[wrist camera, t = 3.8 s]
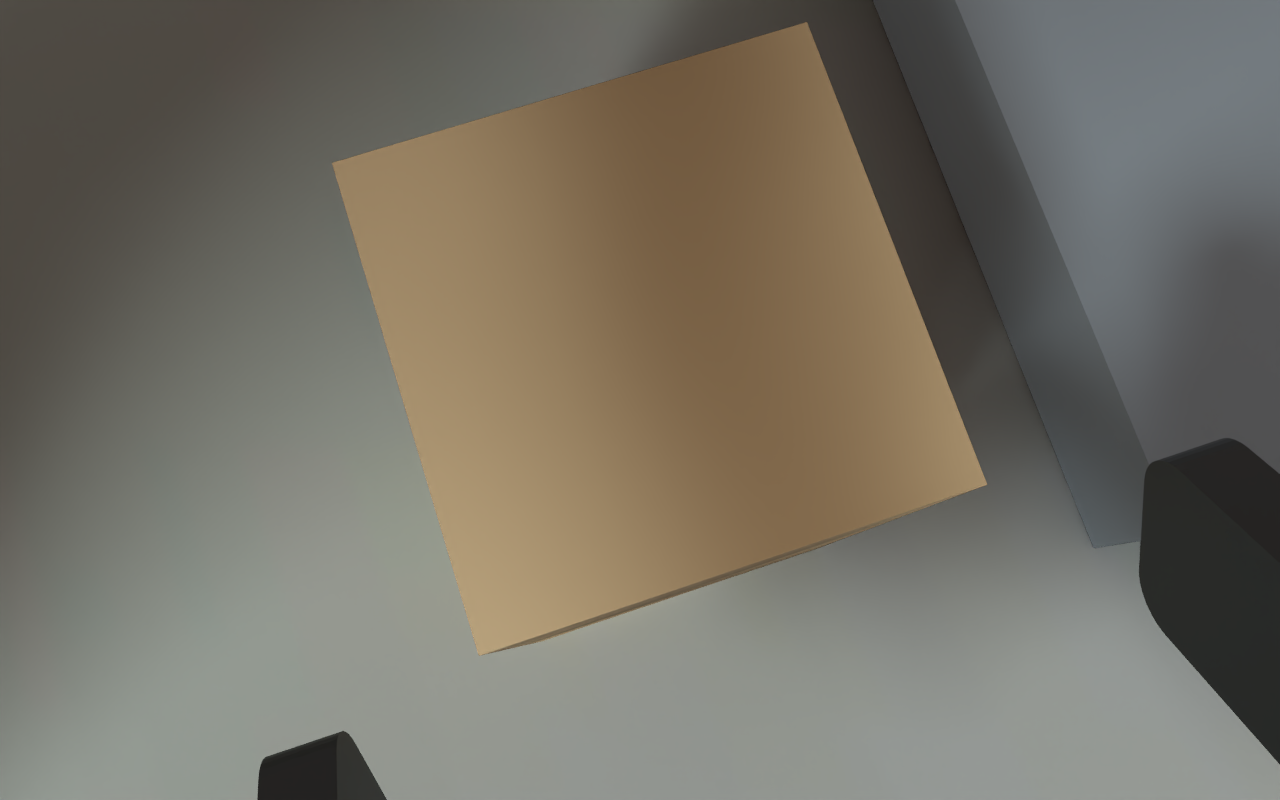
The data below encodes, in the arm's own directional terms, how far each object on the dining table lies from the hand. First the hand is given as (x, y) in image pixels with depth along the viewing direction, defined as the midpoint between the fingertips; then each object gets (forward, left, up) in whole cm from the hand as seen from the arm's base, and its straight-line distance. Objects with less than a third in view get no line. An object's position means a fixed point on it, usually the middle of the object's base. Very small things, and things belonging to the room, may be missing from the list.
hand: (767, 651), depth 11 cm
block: (0, +3, -8) cm, 9 cm away
